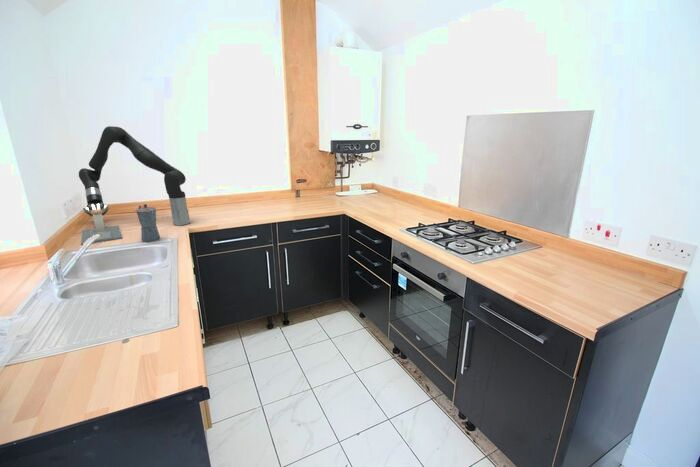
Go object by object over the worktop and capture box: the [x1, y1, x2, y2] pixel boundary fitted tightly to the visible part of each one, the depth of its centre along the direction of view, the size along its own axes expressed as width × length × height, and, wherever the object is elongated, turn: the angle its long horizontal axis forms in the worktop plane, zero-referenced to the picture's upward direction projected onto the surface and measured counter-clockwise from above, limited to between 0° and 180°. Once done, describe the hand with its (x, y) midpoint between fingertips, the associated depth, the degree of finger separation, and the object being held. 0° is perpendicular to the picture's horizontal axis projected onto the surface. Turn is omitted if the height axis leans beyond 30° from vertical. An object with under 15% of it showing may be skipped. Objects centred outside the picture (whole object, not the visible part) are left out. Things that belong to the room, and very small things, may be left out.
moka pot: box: [135, 203, 161, 243], centre depth 183 cm, size 10×15×20 cm, turn 58°
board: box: [80, 224, 123, 246], centre depth 193 cm, size 28×18×1 cm, turn 36°
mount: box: [89, 225, 112, 241], centre depth 186 cm, size 12×9×4 cm
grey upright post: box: [90, 209, 106, 232], centre depth 192 cm, size 5×5×13 cm
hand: (99, 221), depth 197 cm, fingers closed
